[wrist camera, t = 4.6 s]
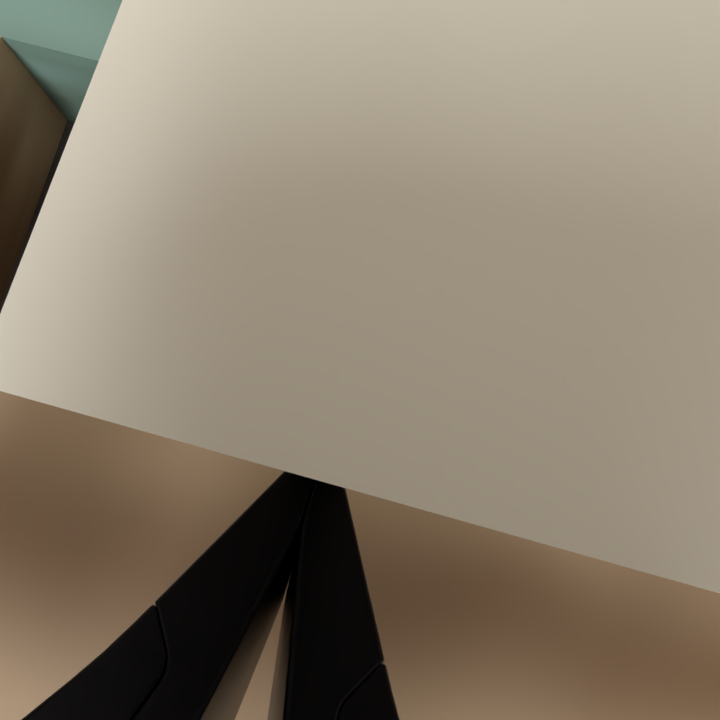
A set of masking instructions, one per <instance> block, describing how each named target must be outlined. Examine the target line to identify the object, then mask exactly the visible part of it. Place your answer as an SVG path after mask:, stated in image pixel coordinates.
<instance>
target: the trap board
mask: <svg viewBox="0 0 720 720" xmlns="http://www.w3.org/2000/svg"><path fill="white" fill-rule="evenodd" d="M121 3H122V0H0V313H1V310H2V308H3V305H4V303H5V300H6V298H7V295H8V292H9V290H10V287H11V285H12V282H13V280H14V277H15V275H16V272H17V269H18V267H19V264H20V262H21V259H22V257H23V254H24V251H25V249H26V246H27V244H28V241H29V239H30V236H31V233H32V231H33V228H34V226H35V223H36V221H37V218H38V216H39V213H40V210H41V208H42V205H43V203H44V200H45V198H46V195H47V192H48V190H49V187H50V185H51V182H52V180H53V177H54V175H55V172H56V169H57V167H58V164H59V162H60V159H61V157H62V154H63V151H64V149H65V146H66V144H67V141H68V139H69V136H70V133H71V131H72V128H73V126H74V123H75V121H76V118H77V116H78V113H79V110H80V108H81V105H82V103H83V100H84V98H85V95H86V92H87V90H88V87H89V85H90V82H91V80H92V77H93V75H94V72H95V69H96V67H97V64H98V62H99V59H100V57H101V54H102V51H103V49H104V46H105V44H106V41H107V39H108V36H109V33H110V31H111V28H112V26H113V23H114V21H115V18H116V16H117V13H118V10H119V8H120V5H121ZM283 472H284V471H283V470H279V469H276V468H272V467H269V466H265V465H261V464H258V463H254V462H251V461H247V460H244V459H240V458H237V457H233V456H229V455H226V454H222V453H219V452H215V451H212V450H208V449H205V448H201V447H197V446H194V445H190V444H187V443H183V442H180V441H176V440H173V439H169V438H165V437H162V436H158V435H155V434H151V433H148V432H144V431H141V430H137V429H134V428H130V427H126V426H123V425H119V424H116V423H112V422H109V421H105V420H102V419H98V418H94V417H91V416H87V415H84V414H80V413H77V412H73V411H70V410H66V409H62V408H59V407H55V406H52V405H48V404H45V403H41V402H38V401H34V400H30V399H27V398H23V397H20V396H16V395H13V394H9V393H6V392H2V391H0V720H21V719H23V718H24V717H25V716H26V715H27V714H29V713H30V712H31V711H32V710H34V709H35V708H36V707H37V706H39V705H40V704H41V703H42V702H43V701H45V700H46V699H47V698H48V697H50V696H51V695H52V694H53V693H55V692H56V691H57V690H58V689H60V688H61V687H62V686H63V685H64V684H66V683H67V682H68V681H69V680H71V679H72V678H73V677H74V676H75V675H76V674H78V673H79V672H80V671H81V670H82V669H84V668H85V667H86V666H87V665H88V664H89V663H91V662H92V661H93V660H94V659H95V658H96V657H98V656H99V655H100V654H101V653H102V652H103V651H105V650H106V649H107V648H108V647H109V646H110V645H111V644H112V643H113V642H114V641H115V640H116V639H117V638H118V637H119V636H120V635H121V634H122V633H123V632H125V631H126V630H127V629H128V628H129V627H130V626H131V625H132V624H133V623H134V622H135V621H136V620H137V619H138V618H139V617H140V616H141V615H142V614H143V613H144V612H145V611H146V610H147V609H148V608H149V607H150V606H151V605H155V601H156V600H157V599H158V598H159V597H160V596H161V595H162V594H163V593H164V592H165V591H166V590H167V589H168V588H169V587H170V586H171V585H172V584H173V583H174V582H175V581H176V580H177V579H178V578H179V577H180V576H181V575H182V574H183V573H184V572H185V571H186V570H187V569H188V568H189V567H190V566H191V565H192V564H193V563H194V562H195V561H196V560H197V559H198V558H199V557H200V556H201V555H202V554H203V553H204V552H205V551H206V550H207V549H208V548H209V547H210V546H211V545H212V544H213V543H214V542H215V541H216V540H217V539H218V538H219V537H220V536H221V535H222V534H223V532H224V531H225V530H226V529H227V528H228V527H229V526H230V525H231V524H232V523H233V522H234V521H235V520H236V519H237V518H238V517H239V516H240V515H241V514H242V513H243V512H244V511H245V510H246V509H247V508H248V507H249V506H250V505H251V504H252V503H253V502H254V501H255V500H256V499H257V498H258V497H259V496H260V495H261V494H262V493H263V492H264V491H265V490H266V489H267V488H268V487H269V486H270V485H271V484H272V483H273V482H274V481H275V480H276V479H277V478H278V477H279V476H280V475H281V474H282V473H283ZM346 493H347V497H348V501H349V506H350V510H351V515H352V519H353V523H354V528H355V532H356V536H357V541H358V545H359V550H360V554H361V558H362V563H363V567H364V572H365V576H366V580H367V585H368V589H369V593H370V598H371V602H372V607H373V611H374V615H375V620H376V624H377V629H378V633H379V637H380V642H381V646H382V650H383V655H384V659H385V660H384V663H383V664H385V665H386V667H387V671H388V676H389V680H390V684H391V689H392V693H393V696H394V700H395V704H396V708H397V712H398V716H399V719H400V720H720V593H716V592H713V591H709V590H706V589H702V588H698V587H695V586H691V585H688V584H684V583H681V582H677V581H674V580H670V579H667V578H663V577H659V576H656V575H652V574H649V573H645V572H642V571H638V570H635V569H631V568H627V567H624V566H620V565H617V564H613V563H610V562H606V561H603V560H599V559H595V558H592V557H588V556H585V555H581V554H578V553H574V552H571V551H567V550H563V549H560V548H556V547H553V546H549V545H546V544H542V543H539V542H535V541H531V540H528V539H524V538H521V537H517V536H514V535H510V534H507V533H503V532H499V531H496V530H492V529H489V528H485V527H482V526H478V525H475V524H471V523H468V522H464V521H460V520H457V519H453V518H450V517H446V516H443V515H439V514H436V513H432V512H428V511H425V510H421V509H418V508H414V507H411V506H407V505H404V504H400V503H396V502H393V501H389V500H386V499H382V498H379V497H375V496H372V495H368V494H364V493H361V492H357V491H354V490H350V489H347V488H346ZM289 579H290V578H289ZM288 583H289V582H288ZM287 587H288V585H287ZM286 592H287V589H286ZM286 592H285V595H284V598H283V601H282V604H281V606H280V609H279V612H278V614H277V617H276V619H275V622H274V624H273V627H272V629H271V631H270V634H269V636H268V639H267V641H266V644H265V646H264V649H263V651H262V654H261V656H260V659H259V661H258V664H257V666H256V669H255V671H254V674H253V676H252V678H251V681H250V683H249V686H248V688H247V691H246V693H245V696H244V698H243V701H242V703H241V706H240V708H239V711H238V713H237V716H236V718H235V720H267V718H268V711H269V704H270V697H271V690H272V683H273V676H274V669H275V662H276V655H277V648H278V641H279V634H280V627H281V620H282V613H283V607H284V601H285V596H286Z"/></svg>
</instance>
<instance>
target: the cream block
mask: <svg viewBox="0 0 720 720" xmlns="http://www.w3.org/2000/svg"><path fill="white" fill-rule="evenodd" d="M0 391H2V392H6V393H9V394H13V395H16V396H20V397H23V398H27V399H30V400H34V401H38V402H41V403H45V404H48V405H52V406H55V407H59V408H62V409H66V410H70V411H73V412H77V413H80V414H84V415H87V416H91V417H94V418H98V419H102V420H105V421H109V422H112V423H116V424H119V425H123V426H126V427H130V428H134V429H137V430H141V431H144V432H148V433H151V434H155V435H158V436H162V437H165V438H169V439H173V440H176V441H180V442H183V443H187V444H190V445H194V446H197V447H201V448H205V449H208V450H212V451H215V452H219V453H222V454H226V455H229V456H233V457H237V458H240V459H244V460H247V461H251V462H254V463H258V464H261V465H265V466H269V467H272V468H276V469H279V470H283V471H286V472H290V473H293V474H297V475H301V476H304V477H308V478H311V479H315V480H318V481H322V482H325V483H329V484H332V485H336V486H340V487H343V488H347V489H350V490H354V491H357V492H361V493H364V494H368V495H372V496H375V497H379V498H382V499H386V500H389V501H393V502H396V503H400V504H404V505H407V506H411V507H414V508H418V509H421V510H425V511H428V512H432V513H436V514H439V515H443V516H446V517H450V518H453V519H457V520H460V521H464V522H468V523H471V524H475V525H478V526H482V527H485V528H489V529H492V530H496V531H499V532H503V533H507V534H510V535H514V536H517V537H521V538H524V539H528V540H531V541H535V542H539V543H542V544H546V545H549V546H553V547H556V548H560V549H563V550H567V551H571V552H574V553H578V554H581V555H585V556H588V557H592V558H595V559H599V560H603V561H606V562H610V563H613V564H617V565H620V566H624V567H627V568H631V569H635V570H638V571H642V572H645V573H649V574H652V575H656V576H659V577H663V578H667V579H670V580H674V581H677V582H681V583H684V584H688V585H691V586H695V587H698V588H702V589H706V590H709V591H713V592H716V593H720V0H122V3H121V5H120V8H119V10H118V13H117V16H116V18H115V21H114V23H113V26H112V28H111V31H110V33H109V36H108V39H107V41H106V44H105V46H104V49H103V51H102V54H101V57H100V59H99V62H98V64H97V67H96V69H95V72H94V75H93V77H92V80H91V82H90V85H89V87H88V90H87V92H86V95H85V98H84V100H83V103H82V105H81V108H80V110H79V113H78V116H77V118H76V121H75V123H74V126H73V128H72V131H71V133H70V136H69V139H68V141H67V144H66V146H65V149H64V151H63V154H62V157H61V159H60V162H59V164H58V167H57V169H56V172H55V175H54V177H53V180H52V182H51V185H50V187H49V190H48V192H47V195H46V198H45V200H44V203H43V205H42V208H41V210H40V213H39V216H38V218H37V221H36V223H35V226H34V228H33V231H32V233H31V236H30V239H29V241H28V244H27V246H26V249H25V251H24V254H23V257H22V259H21V262H20V264H19V267H18V269H17V272H16V275H15V277H14V280H13V282H12V285H11V287H10V290H9V292H8V295H7V298H6V300H5V303H4V305H3V308H2V310H1V313H0Z"/></svg>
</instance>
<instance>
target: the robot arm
mask: <svg viewBox="0 0 720 720" xmlns="http://www.w3.org/2000/svg"><path fill="white" fill-rule="evenodd" d="M289 578H290V579H289ZM288 582H289V583H288ZM287 585H288V587H287ZM286 589H287V592H286ZM285 592H286V596H285V601H284V607H283V613H282V620H281V627H280V634H279V641H278V648H277V655H276V662H275V669H274V676H273V683H272V690H271V697H270V704H269V711H268V718H267V720H400V719H399V716H398V712H397V708H396V704H395V700H394V696H393V693H392V689H391V684H390V680H389V676H388V671H387V667H386V665H385V664H383V663H384V660H385V659H384V655H383V650H382V646H381V642H380V637H379V633H378V629H377V624H376V620H375V615H374V611H373V607H372V602H371V598H370V593H369V589H368V585H367V580H366V576H365V572H364V567H363V563H362V558H361V554H360V550H359V545H358V541H357V536H356V532H355V528H354V523H353V519H352V515H351V510H350V506H349V501H348V497H347V493H346V488H343V487H340V486H336V485H332V484H329V483H325V482H322V481H318V480H315V479H311V478H308V477H304V476H301V475H297V474H293V473H290V472H286V471H284V472H283V473H282V474H281V475H280V476H279V477H278V478H277V479H276V480H275V481H274V482H273V483H272V484H271V485H270V486H269V487H268V488H267V489H266V490H265V491H264V492H263V493H262V494H261V495H260V496H259V497H258V498H257V499H256V500H255V501H254V502H253V503H252V504H251V505H250V506H249V507H248V508H247V509H246V510H245V511H244V512H243V513H242V514H241V515H240V516H239V517H238V518H237V519H236V520H235V521H234V522H233V523H232V524H231V525H230V526H229V527H228V528H227V529H226V530H225V531H224V532H223V534H222V535H221V536H220V537H219V538H218V539H217V540H216V541H215V542H214V543H213V544H212V545H211V546H210V547H209V548H208V549H207V550H206V551H205V552H204V553H203V554H202V555H201V556H200V557H199V558H198V559H197V560H196V561H195V562H194V563H193V564H192V565H191V566H190V567H189V568H188V569H187V570H186V571H185V572H184V573H183V574H182V575H181V576H180V577H179V578H178V579H177V580H176V581H175V582H174V583H173V584H172V585H171V586H170V587H169V588H168V589H167V590H166V591H165V592H164V593H163V594H162V595H161V596H160V597H159V598H158V599H157V600H156V601H155V605H151V606H150V607H149V608H148V609H147V610H146V611H145V612H144V613H143V614H142V615H141V616H140V617H139V618H138V619H137V620H136V621H135V622H134V623H133V624H132V625H131V626H130V627H129V628H128V629H127V630H126V631H125V632H123V633H122V634H121V635H120V636H119V637H118V638H117V639H116V640H115V641H114V642H113V643H112V644H111V645H110V646H109V647H108V648H107V649H106V650H105V651H103V652H102V653H101V654H100V655H99V656H98V657H96V658H95V659H94V660H93V661H92V662H91V663H89V664H88V665H87V666H86V667H85V668H84V669H82V670H81V671H80V672H79V673H78V674H76V675H75V676H74V677H73V678H72V679H71V680H69V681H68V682H67V683H66V684H64V685H63V686H62V687H61V688H60V689H58V690H57V691H56V692H55V693H53V694H52V695H51V696H50V697H48V698H47V699H46V700H45V701H43V702H42V703H41V704H40V705H39V706H37V707H36V708H35V709H34V710H32V711H31V712H30V713H29V714H27V715H26V716H25V717H24V718H23V719H21V720H235V718H236V716H237V713H238V711H239V708H240V706H241V703H242V701H243V698H244V696H245V693H246V691H247V688H248V686H249V683H250V681H251V678H252V676H253V674H254V671H255V669H256V666H257V664H258V661H259V659H260V656H261V654H262V651H263V649H264V646H265V644H266V641H267V639H268V636H269V634H270V631H271V629H272V627H273V624H274V622H275V619H276V617H277V614H278V612H279V609H280V606H281V604H282V601H283V598H284V595H285Z"/></svg>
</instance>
